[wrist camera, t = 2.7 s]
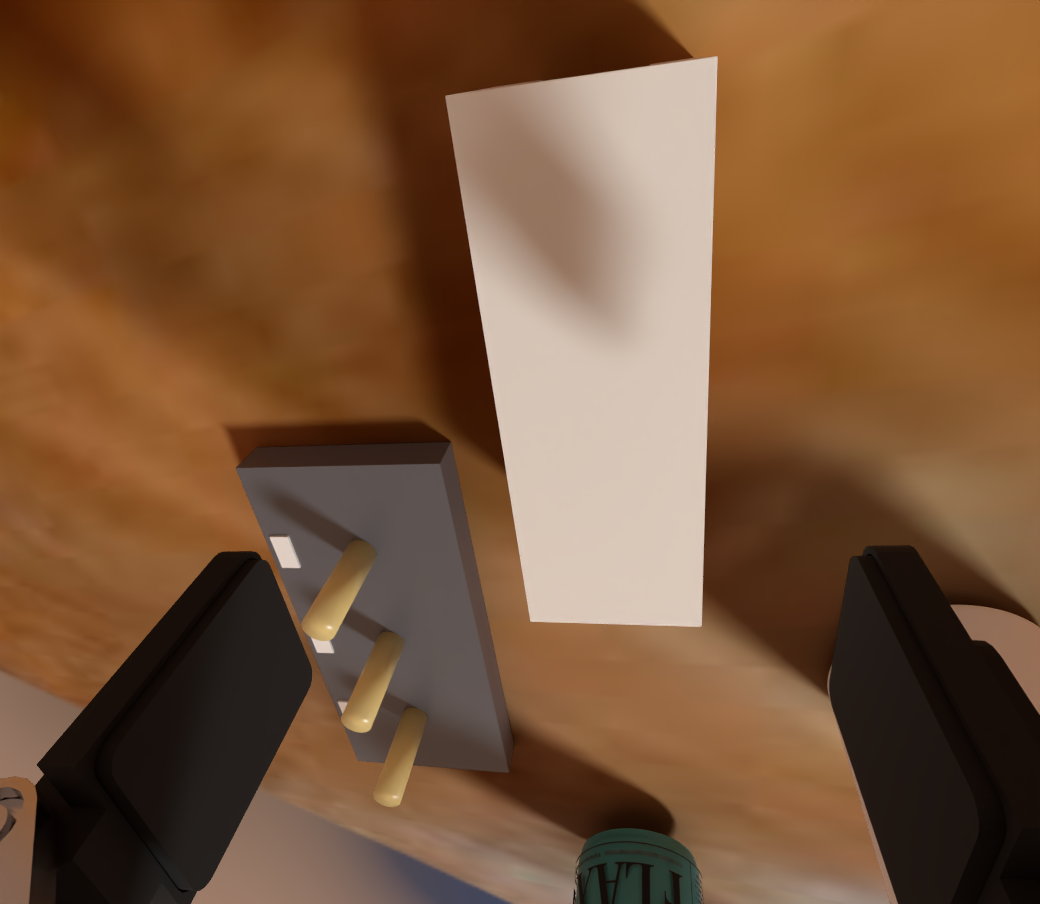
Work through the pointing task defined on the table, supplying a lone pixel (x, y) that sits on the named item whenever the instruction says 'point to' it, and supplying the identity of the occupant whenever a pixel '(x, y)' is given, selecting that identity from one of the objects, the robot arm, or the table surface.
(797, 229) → the table surface
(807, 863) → the table surface
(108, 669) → the table surface
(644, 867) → the beverage bottle
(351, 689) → the header
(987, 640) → the beverage can
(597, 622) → the white rectangular block
